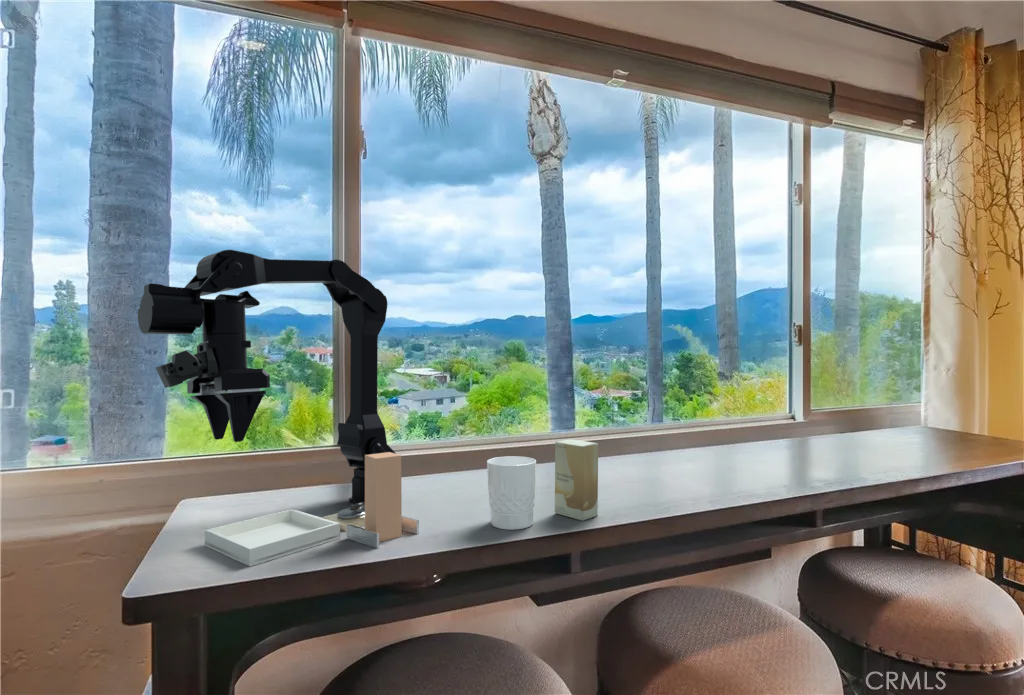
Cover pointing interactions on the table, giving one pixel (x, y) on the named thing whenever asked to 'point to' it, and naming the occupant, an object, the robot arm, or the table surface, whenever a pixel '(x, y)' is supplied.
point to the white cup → (511, 491)
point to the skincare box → (576, 479)
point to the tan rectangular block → (383, 495)
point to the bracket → (356, 518)
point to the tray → (271, 536)
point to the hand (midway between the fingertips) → (228, 440)
